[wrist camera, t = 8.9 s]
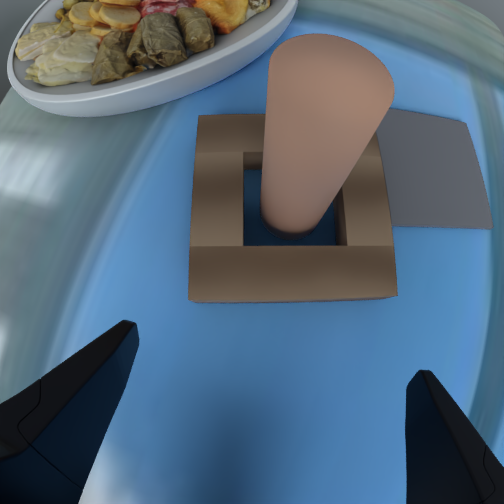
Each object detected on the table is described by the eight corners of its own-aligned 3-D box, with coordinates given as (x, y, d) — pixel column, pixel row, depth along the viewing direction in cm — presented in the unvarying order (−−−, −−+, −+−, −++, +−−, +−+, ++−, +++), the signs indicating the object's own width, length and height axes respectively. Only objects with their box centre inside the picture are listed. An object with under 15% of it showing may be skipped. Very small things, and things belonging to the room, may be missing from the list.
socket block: (381, 299, 20) (397, 295, 18) (195, 302, 20) (188, 299, 18) (363, 138, 23) (373, 120, 20) (203, 135, 23) (198, 115, 20)
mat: (490, 229, 21) (493, 227, 21) (389, 225, 21) (391, 223, 21) (463, 125, 23) (465, 122, 23) (368, 109, 23) (370, 105, 23)
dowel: (328, 229, 21) (416, 111, 8) (272, 248, 21) (301, 136, 8) (306, 176, 22) (355, 29, 9) (251, 193, 22) (250, 43, 9)
